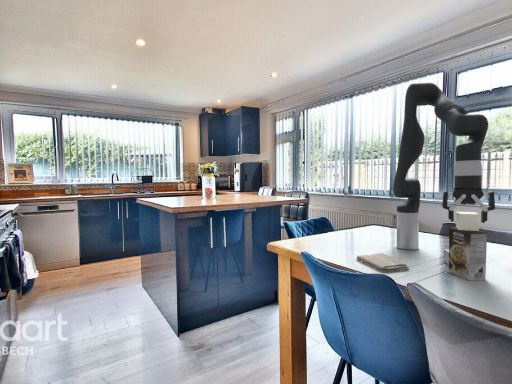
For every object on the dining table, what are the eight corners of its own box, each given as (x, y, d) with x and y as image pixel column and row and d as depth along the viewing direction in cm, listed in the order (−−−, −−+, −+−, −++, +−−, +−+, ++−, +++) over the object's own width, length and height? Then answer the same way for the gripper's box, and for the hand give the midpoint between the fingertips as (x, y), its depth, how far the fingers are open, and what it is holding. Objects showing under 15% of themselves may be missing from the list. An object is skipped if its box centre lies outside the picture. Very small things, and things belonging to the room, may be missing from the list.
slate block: (449, 265, 109) (449, 252, 109) (443, 261, 114) (443, 249, 114) (464, 265, 108) (464, 252, 108) (458, 261, 113) (458, 249, 113)
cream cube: (458, 229, 96) (458, 213, 96) (456, 227, 101) (456, 211, 100) (478, 230, 93) (479, 214, 93) (475, 228, 98) (475, 212, 98)
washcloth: (383, 274, 102) (383, 266, 102) (355, 260, 120) (355, 253, 120) (411, 271, 105) (411, 263, 105) (379, 258, 122) (379, 251, 122)
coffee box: (447, 271, 102) (448, 227, 101) (464, 270, 102) (464, 226, 102) (468, 280, 93) (469, 232, 92) (487, 279, 93) (487, 231, 93)
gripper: (443, 175, 96) (443, 222, 97) (497, 173, 89) (497, 224, 90) (441, 174, 103) (441, 219, 104) (491, 173, 96) (490, 221, 97)
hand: (467, 221), depth 97 cm, fingers open, 8 cm apart
